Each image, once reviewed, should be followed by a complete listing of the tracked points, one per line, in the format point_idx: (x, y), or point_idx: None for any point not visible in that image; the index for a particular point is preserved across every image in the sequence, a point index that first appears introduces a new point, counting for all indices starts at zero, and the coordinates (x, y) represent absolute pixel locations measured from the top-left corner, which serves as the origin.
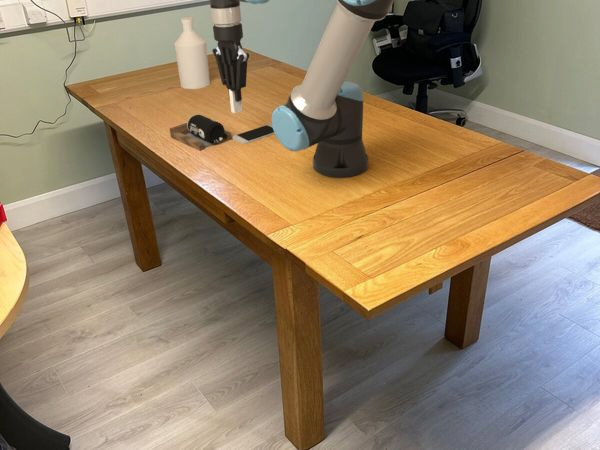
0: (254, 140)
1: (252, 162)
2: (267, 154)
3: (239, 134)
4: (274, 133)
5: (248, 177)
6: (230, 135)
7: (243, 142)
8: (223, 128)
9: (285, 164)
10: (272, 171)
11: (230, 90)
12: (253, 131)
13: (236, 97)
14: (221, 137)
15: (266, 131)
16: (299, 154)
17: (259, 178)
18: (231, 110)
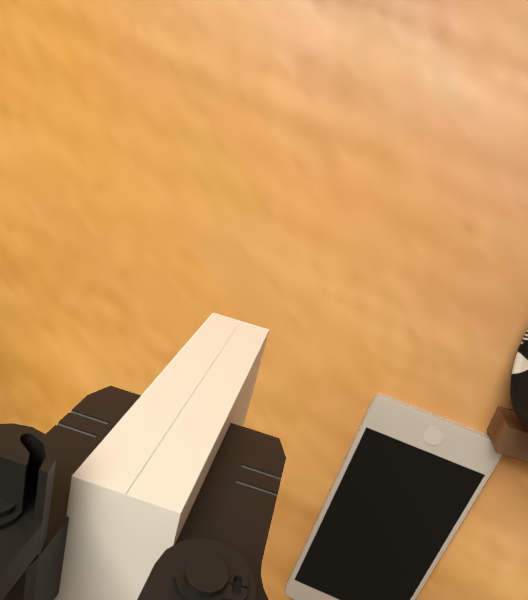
0: (348, 450)
1: (190, 210)
2: (184, 327)
3: (469, 485)
4: (302, 549)
5: (90, 36)
6: (495, 437)
7: (381, 400)
8: (523, 419)
9: (43, 263)
10: (41, 165)
11: (129, 484)
12: (415, 540)
13: (97, 423)
14: (520, 374)
15: (348, 555)
16: (61, 383)
17: (38, 59)
18: (259, 337)
